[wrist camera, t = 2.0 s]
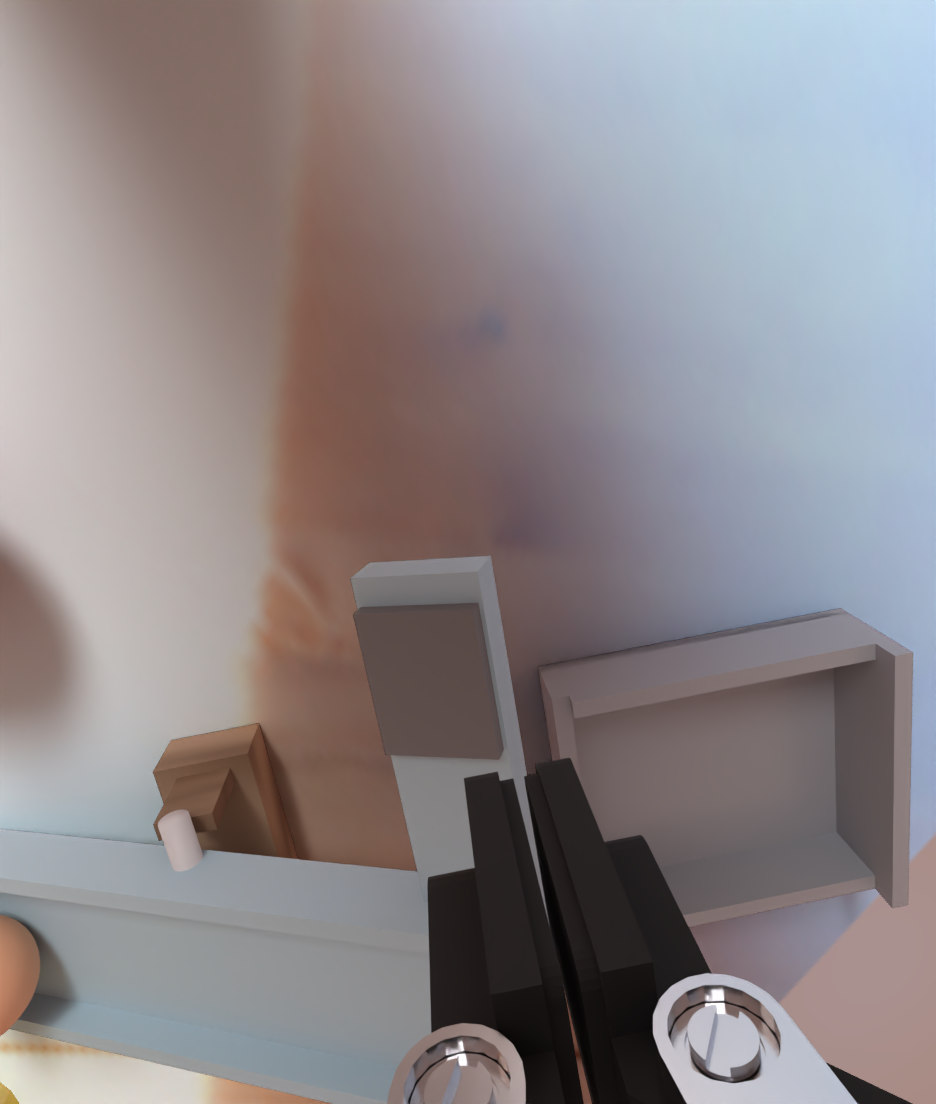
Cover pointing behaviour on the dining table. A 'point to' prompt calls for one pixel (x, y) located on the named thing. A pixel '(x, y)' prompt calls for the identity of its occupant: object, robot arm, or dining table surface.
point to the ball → (16, 970)
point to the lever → (287, 882)
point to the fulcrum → (225, 792)
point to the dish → (749, 759)
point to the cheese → (7, 1096)
